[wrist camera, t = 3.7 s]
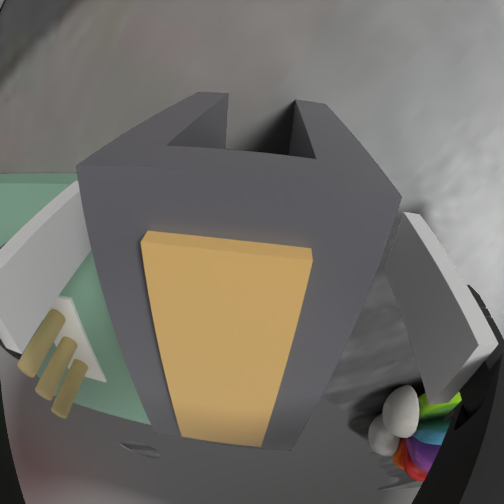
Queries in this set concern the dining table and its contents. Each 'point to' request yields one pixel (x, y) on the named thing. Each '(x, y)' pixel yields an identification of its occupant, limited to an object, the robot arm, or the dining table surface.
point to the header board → (70, 319)
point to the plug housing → (234, 266)
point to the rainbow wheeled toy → (411, 430)
